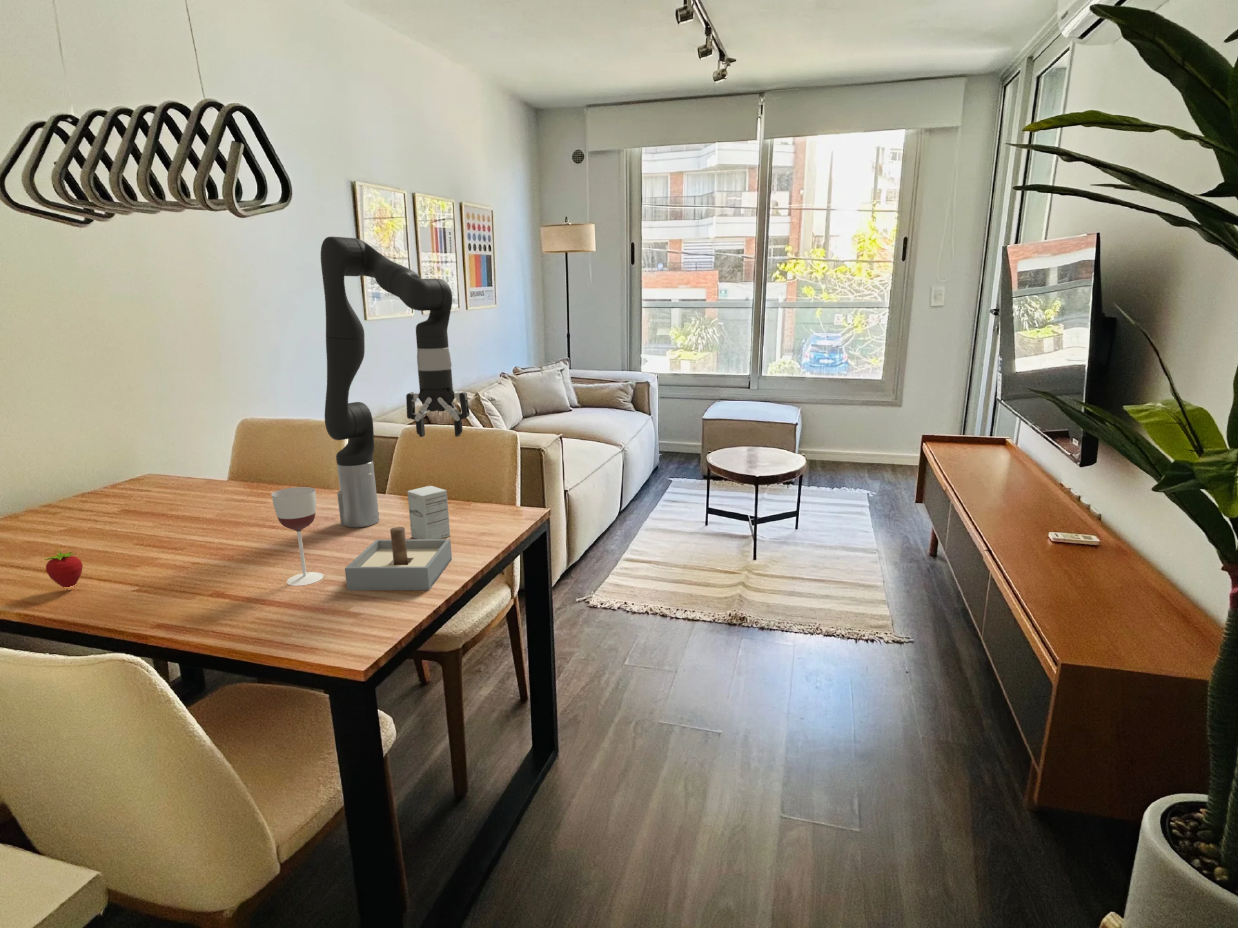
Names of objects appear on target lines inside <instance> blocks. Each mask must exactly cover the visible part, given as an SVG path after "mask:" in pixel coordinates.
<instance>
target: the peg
mask: <svg viewBox="0 0 1238 928" xmlns="http://www.w3.org/2000/svg"><path fill="white" fill-rule="evenodd" d="M389 530H390V540H391V542H392V552H393V562H394V565H408V559H407V549H406V530H405V527H403V526H396V527H392V528H391V529H389Z"/></svg>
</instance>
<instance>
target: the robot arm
mask: <svg viewBox="0 0 1238 928" xmlns="http://www.w3.org/2000/svg"><path fill="white" fill-rule="evenodd" d="M320 265H321V266H320V267H321V268H320V269H321V273H322V274H321V276H322V283H323V284H322V285H323V293H324V302H325V303H324V305H325V308H324V309H325V350H326V353H325V354H326V391H325V403H324V405H325V406H324V425H325V429H326V432H327V435H329V437H330V438H331V439H332V440H334V441H343V440H348V442H347V444H346V445H345V446H344V447H343V448H342V449H341V450H339V451H337V453H336V456H335V458H336V467H337V475H338V484H339V485H338V486H339V491H337V501H338V502H337V503H338V510H339V511H338V512H339V517H340V518H339V519H340V521H339V522H340V526H341V527H342V526H344V527H348V528H364V527H369V526H373V525H376V524H377V523H379V522H380V513H379V504H378V495H377V487H376V485H377V483H376V477H375V467H374V465H375V464H374V451H375V433H374V421H373V415H372V411H371V410H370V408H369V406H368V405H366V404H365V402H360V401H354V402H349V397H350V396H349V394H350V389H351V388H350V387H351V385H352V383H353V380H354V379H355V376H356V375H357V373H358V371H359V369H360V368H361V366H362V363H363V361H364V358H365V351H366V349H365V347H366V346H365V329H364V327H363V324H362V321H360V318H359V317H358V315H357V313H356V312H355V311H354V309H353V307H352V305H351V303H350V302H349V300H348V296H347V293H346V286H345V277H360V276H361V277H369V278H373V279H375V282H376V283H377V285H378V286H379V288H381V289H382V290H383V291H385V292H387V293H389V294H391V295H393V296H395V297H397V298H399V299H400V301H402V303H404V305H406V307H408V308H409V309H412V310H415V311H419V312H422V311H425V312H426V311H427V312H428V311H429V314H428V318H427V319H426V320H423V321H421V322H419V323H417V325H416V326H415V338H416V340H415V341H416V349H417V350H416V351H417V352H416V363H417V373H418V386H419V393H417V392H416V393H414V392H413V391H411V392H409V393H407V394H406V395H405V396H406V400H405V402H406V417H407V419H408V420H409V419H411V420H413V421H415V428H416V434H417V435H418V436H419V438H423V437H425V435H426V432H425V431H426V430H425V421H424V418H425V416H426V415H427V413H428V412H429V411H430V412H444V411H446V412H447V413H448V414H449V415H450V416H451V417H452V418H453V420H454V421H453V424H454V425H453V427H454V437H456V438H459V437H460V436H461V435H462V433H463V419H467V418H468V417H469V416H471V415H470V414H471V413H470V407H469V406H470V405H469V400H468V393H467V391H462V392H455V391H454V386H453V374H452V361H451V359H452V358H451V353H450V349H449V337H448V326H449V322H450V317H451V316H450V315H451V312H452V311H451V310H452V306H453V292H452V289H451V287H450V285H449V283H448V282H447V281H446V280H444V279H442V278H441V279H440V278H421V277H420V276H419V274H418V273H417V272H416V271H414V270H412V269H410V268H408V267H407V266H404V265H401V264H400V263H397V262H395V261H392V260H390V259H389V258H388V257H386V256H384V255H383V254H381V252H379V251H378V250H377V249H375V248H373V247H372V246H371V245H370V244H369V243H367V242H366V241H363V240H362V239H359V238H355V237H342V236H327V237H326V238H324V240H323V241H322V243H321V247H320ZM455 399H456V400H457V402H459V404H460V411H461V412H460V411H459V410H458V408H457V407H456V405H454V403H453V402H454V400H455ZM418 400H420V401H419V402H421V404H422V406H421V407H420V409H419V410H418V412H417V413H416V403H417V402H418Z"/></svg>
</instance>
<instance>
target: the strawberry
mask: <svg viewBox="0 0 1238 928" xmlns="http://www.w3.org/2000/svg"><path fill="white" fill-rule="evenodd" d="M54 549H56V550H57V551H59V552H57V554H56V556H55V555H53V556H50V557H47V558H44V561H47V563H46V564H45V572H46V573H47V575H48V576H49V578H50V579H51V580H52V581H54V582H55V583H56V584H57V585H58V586H60V587H62V588H64V587H70V586H73V585H75V584H76V585H77V583H78V582H79V579H80V577H81V575H82V573H83V565H84V564H83V562H82V560H81V559H80V558H78V557H77V556H75V555H76V553H74V551H69V552H66V553H62V551H61V550H60V549H58V548H56V547H54ZM76 585H75V586H76Z"/></svg>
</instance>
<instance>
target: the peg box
mask: <svg viewBox="0 0 1238 928" xmlns="http://www.w3.org/2000/svg"><path fill="white" fill-rule="evenodd" d="M405 539H406V538H405ZM406 549H407V559H408V563H409V564H408V565H394V562H393V552H392V542H391V539H375V540H374V541H373V542H372V543H371V544H370V545H369V546H368V547H366V549H364V550H363V551H362V552H361V553H360V554H359V555H357V557H355V559H354V560H352V561H351V562H350V563H349V564H348V565H347V566H346V567H344V571H345V572H344V573H345V581H346V582H345V583H346V589H347V590H346V591H430V590H431V589H432V587H433V586H434V584H435V583H436V581H437V580H439V578H440V576H441V575H442V574H443V573H444V571H445V569H446V568H447V567H448V565H449V564H450V563H451V561H452V560H453V555H452V542H451V539H450V538H443V539H416V538H414V539H413V538H412V539H410V538H409V539H406Z"/></svg>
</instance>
